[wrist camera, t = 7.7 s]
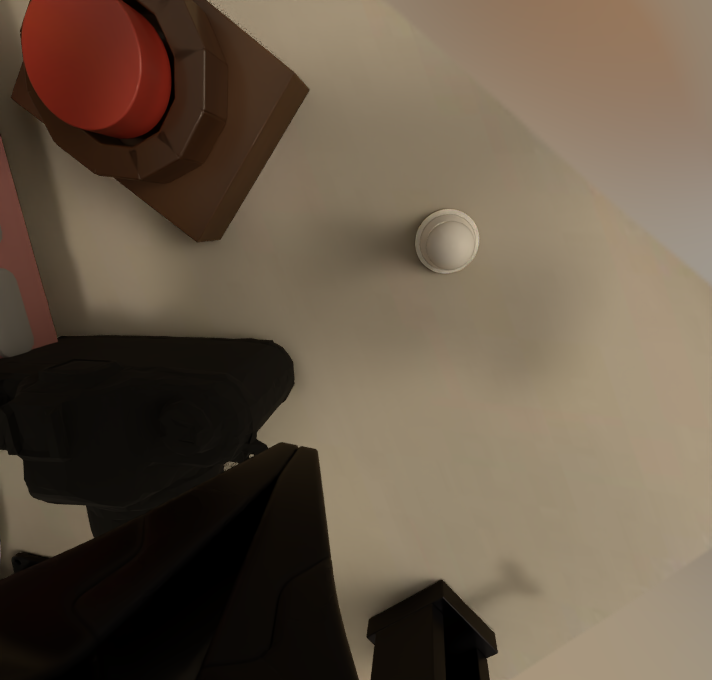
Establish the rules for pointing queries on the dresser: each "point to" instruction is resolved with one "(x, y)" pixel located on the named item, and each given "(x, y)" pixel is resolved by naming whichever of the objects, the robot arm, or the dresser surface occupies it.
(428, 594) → the bracket
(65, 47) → the button
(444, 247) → the chess pawn
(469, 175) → the dresser surface
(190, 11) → the button box
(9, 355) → the alarm clock
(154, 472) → the film camera
